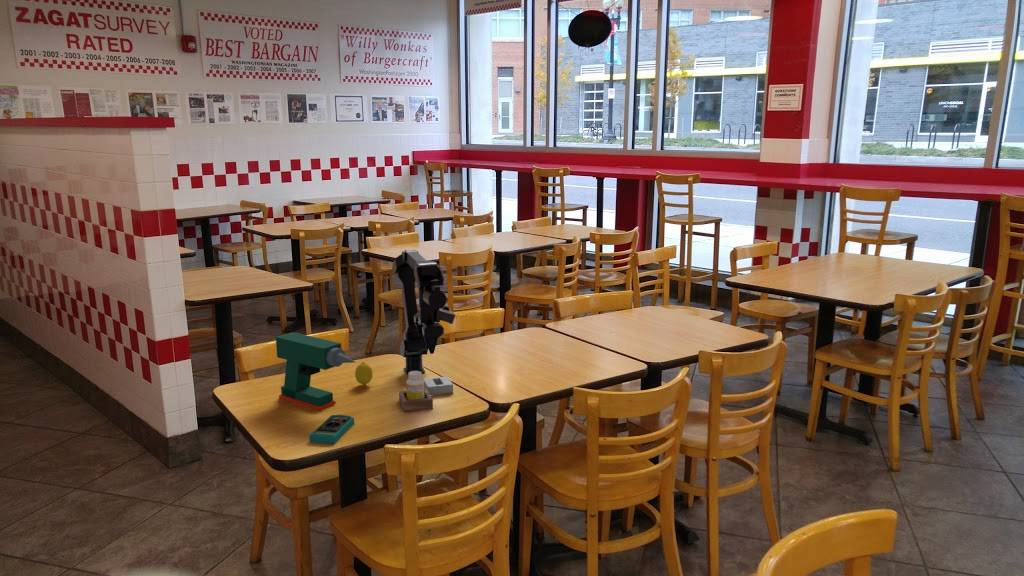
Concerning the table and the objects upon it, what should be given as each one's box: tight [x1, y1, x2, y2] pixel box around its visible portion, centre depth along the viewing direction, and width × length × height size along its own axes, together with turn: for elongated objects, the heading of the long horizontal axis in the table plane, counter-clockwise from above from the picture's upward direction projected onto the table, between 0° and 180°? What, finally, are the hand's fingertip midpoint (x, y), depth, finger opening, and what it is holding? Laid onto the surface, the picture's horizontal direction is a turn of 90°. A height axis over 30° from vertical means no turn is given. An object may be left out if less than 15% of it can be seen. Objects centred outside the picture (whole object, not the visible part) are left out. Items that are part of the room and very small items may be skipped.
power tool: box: [275, 331, 356, 412], centre depth 216 cm, size 32×7×20 cm, turn 56°
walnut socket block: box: [398, 389, 434, 413], centre depth 218 cm, size 10×8×3 cm
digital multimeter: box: [308, 414, 355, 445], centre depth 198 cm, size 7×15×3 cm, turn 170°
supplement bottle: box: [405, 371, 424, 400], centre depth 217 cm, size 5×5×10 cm
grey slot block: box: [422, 376, 454, 396], centre depth 230 cm, size 8×8×3 cm
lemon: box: [354, 361, 373, 387], centre depth 234 cm, size 6×6×8 cm
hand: (429, 349), depth 230 cm, fingers open, 9 cm apart
